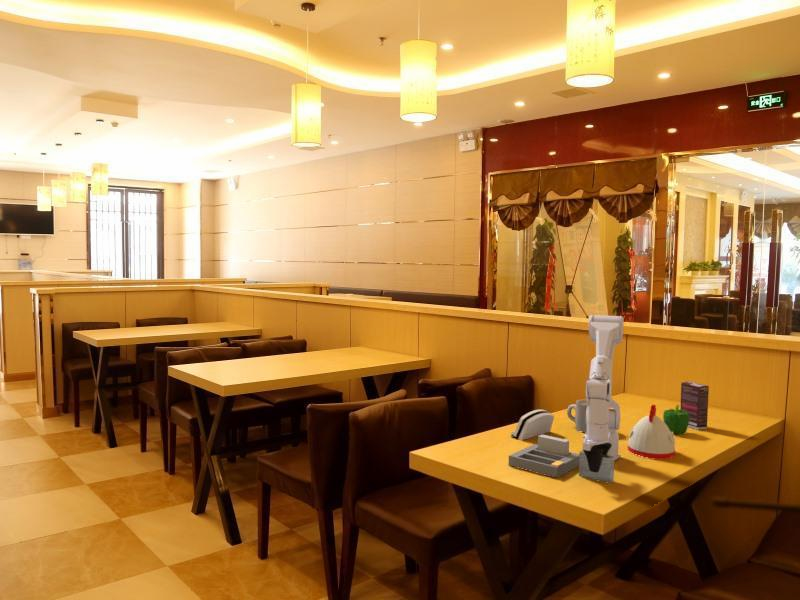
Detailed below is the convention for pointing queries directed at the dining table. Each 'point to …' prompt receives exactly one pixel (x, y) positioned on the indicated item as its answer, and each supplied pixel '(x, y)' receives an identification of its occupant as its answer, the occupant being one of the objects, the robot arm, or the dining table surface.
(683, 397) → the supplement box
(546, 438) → the rack
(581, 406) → the coffee mug
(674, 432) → the bell pepper
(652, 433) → the chicken hat
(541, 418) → the white arched block
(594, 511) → the dining table surface
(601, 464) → the panel
